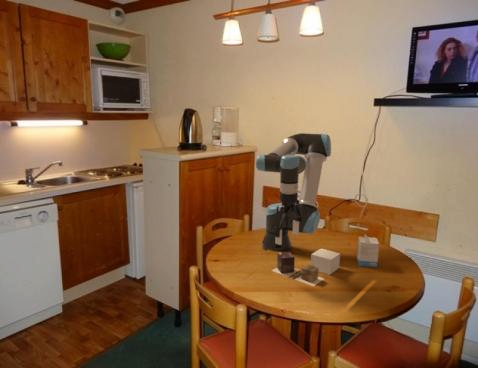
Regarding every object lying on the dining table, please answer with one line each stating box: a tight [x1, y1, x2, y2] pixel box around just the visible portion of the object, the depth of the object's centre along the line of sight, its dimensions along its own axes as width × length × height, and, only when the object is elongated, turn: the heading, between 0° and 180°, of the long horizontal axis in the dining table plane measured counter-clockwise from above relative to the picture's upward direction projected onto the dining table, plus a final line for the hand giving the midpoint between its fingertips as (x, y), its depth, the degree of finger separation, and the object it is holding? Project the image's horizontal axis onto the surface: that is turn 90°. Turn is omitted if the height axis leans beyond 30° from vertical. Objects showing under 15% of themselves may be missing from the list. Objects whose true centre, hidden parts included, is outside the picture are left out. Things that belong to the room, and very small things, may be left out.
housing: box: [310, 248, 341, 276], centre depth 155 cm, size 9×9×8 cm
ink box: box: [356, 233, 380, 268], centre depth 163 cm, size 9×8×13 cm
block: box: [301, 263, 319, 283], centre depth 145 cm, size 5×5×5 cm
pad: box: [271, 267, 300, 278], centre depth 153 cm, size 9×9×1 cm
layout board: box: [289, 270, 325, 287], centre depth 150 cm, size 22×14×1 cm, turn 49°
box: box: [276, 251, 296, 274], centre depth 152 cm, size 6×6×7 cm
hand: (287, 239), depth 151 cm, fingers open, 13 cm apart
